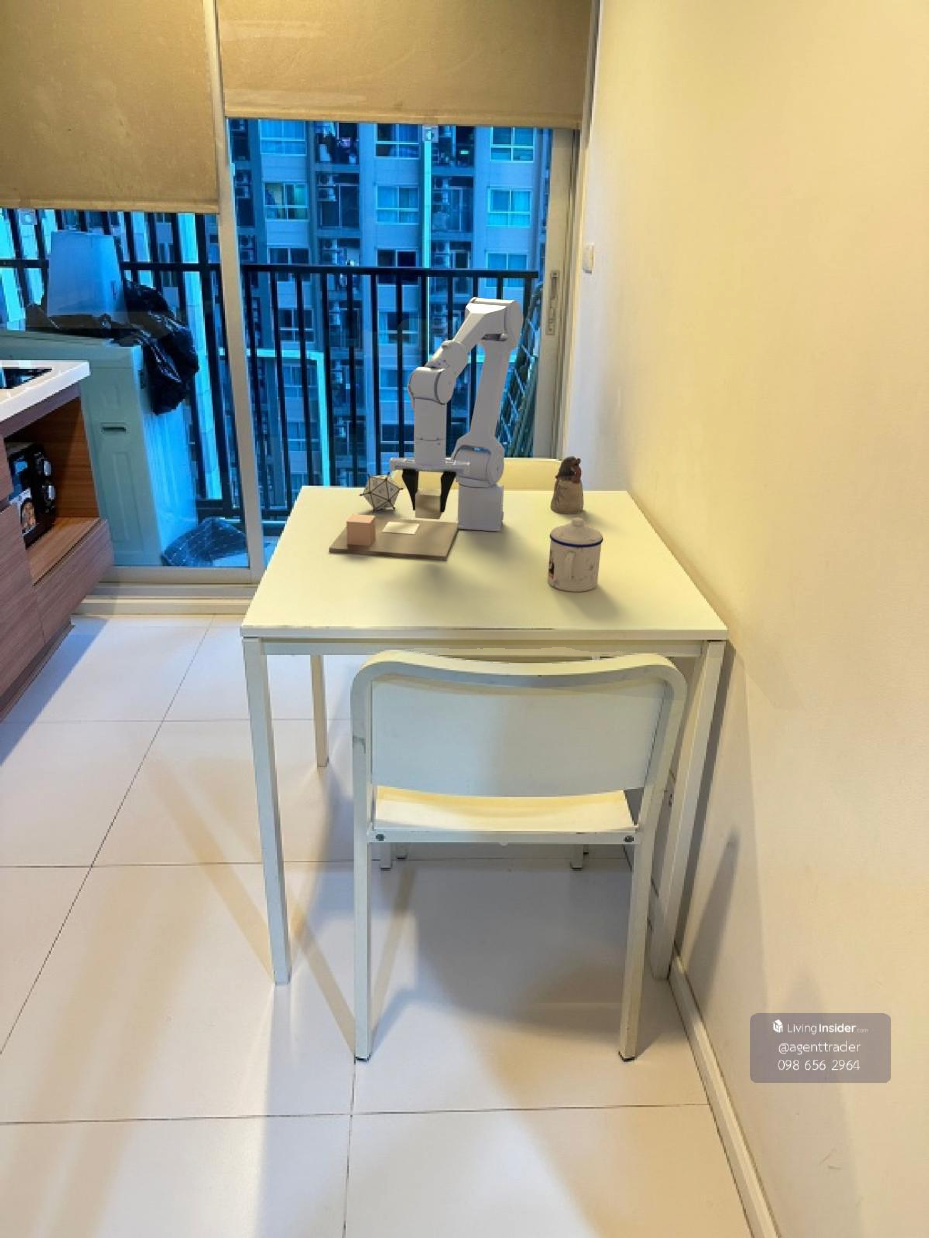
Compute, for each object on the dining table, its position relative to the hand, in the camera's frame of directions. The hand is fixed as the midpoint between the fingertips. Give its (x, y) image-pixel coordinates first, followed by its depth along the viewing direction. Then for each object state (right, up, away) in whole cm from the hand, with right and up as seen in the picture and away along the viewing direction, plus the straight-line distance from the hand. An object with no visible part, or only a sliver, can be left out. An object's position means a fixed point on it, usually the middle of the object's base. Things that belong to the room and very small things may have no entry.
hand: (429, 510), depth 155 cm
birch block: (0, -1, 0) cm, 1 cm away
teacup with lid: (+25, -15, -11) cm, 31 cm away
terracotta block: (-13, -5, +4) cm, 15 cm away
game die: (-11, +3, +25) cm, 28 cm away
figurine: (+29, +4, +30) cm, 42 cm away
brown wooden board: (-7, -5, +8) cm, 12 cm away
